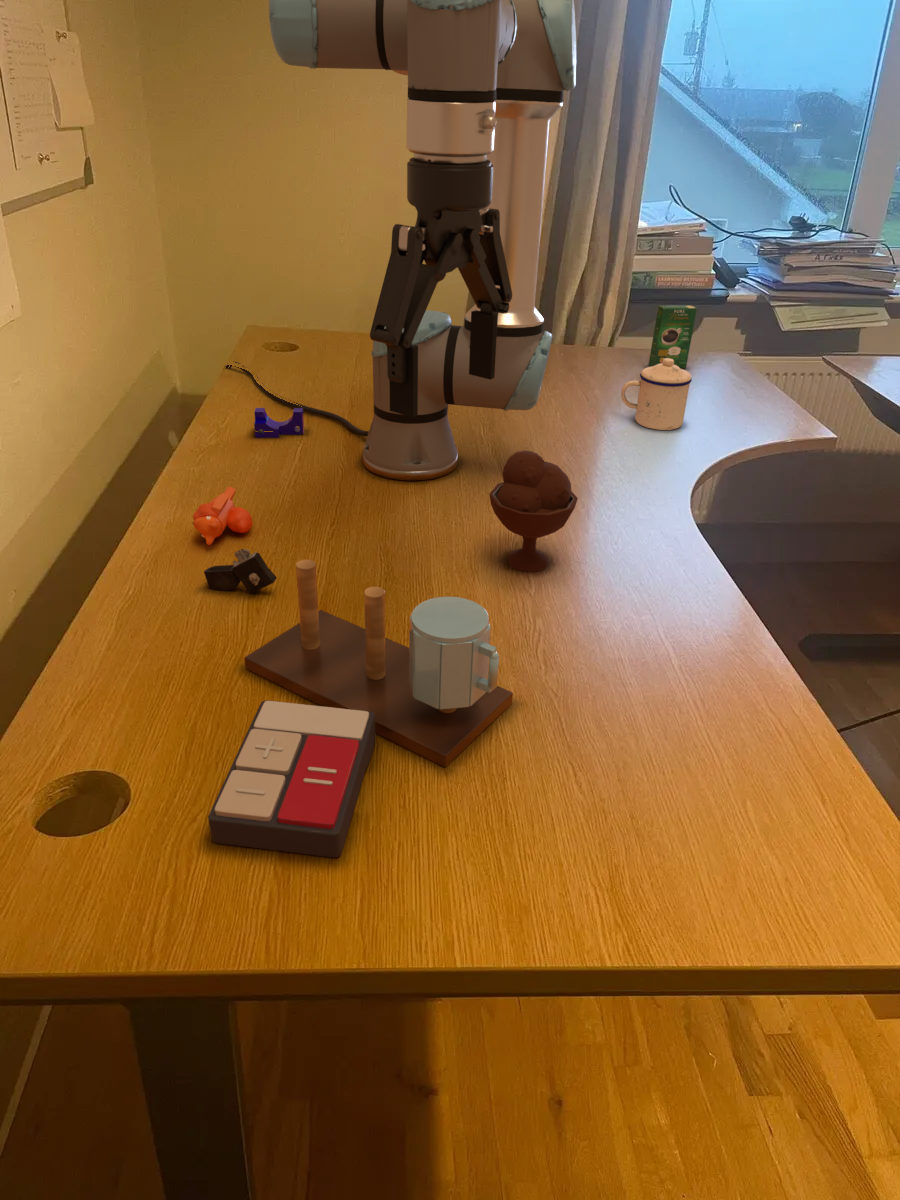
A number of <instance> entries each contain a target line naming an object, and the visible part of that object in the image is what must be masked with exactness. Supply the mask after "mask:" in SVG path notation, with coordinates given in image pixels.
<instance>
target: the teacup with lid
mask: <svg viewBox="0 0 900 1200" xmlns="http://www.w3.org/2000/svg"><path fill="white" fill-rule="evenodd" d="M639 377H640V380H630V381H627V382H626V383H624V384H623V386H622V388H621V391H620V395H621V400H622V402H623V403H624V405H625V406H627V407H628V408H630V409H635V416H634V417H635V422H636V423H637V424H638V425H640V426H641V427H645V428H647V429H651V430H656V431H657V430H658V431H671V430H676V429H679V428H680V427H682V426H683V424H684V419H685V413H686V407H687V401H688V396H689V391H690V390H689V389H690V386H691V385H690V384H691V382H692V380H693V379H692V375H691V373H690V372H689V371H687V370H685V369H684V368H679V367H678V366H676V365H674V360H673V359H670V358H665V359H663V361H662V363H660V364H657V365H655V366H651V367H649V366H647V367H645V368H643V369H642V370H641V371H640V374H639ZM632 386H637V387H639V390H638V394H637V395H638V396H637V403H632V402H630V401H629V400H628V399H627V397H626V391H627V389H628V388H630V387H632Z"/></svg>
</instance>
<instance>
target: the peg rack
mask: <svg viewBox="0 0 900 1200" xmlns="http://www.w3.org/2000/svg"><path fill="white" fill-rule="evenodd" d="M295 569H296V570H295V571H296V586H297V598H298V599H297V600H298V612H299V613H298V615H299V623H297V624H295V625H294V626H292V627H291V628H289V629H287V630H286V631H284V632H282V633H281V634H279V635H278V636H276V637H274V638H273V639H272V640H269V641H268V642H267V643H265V644H263V645H262V646H260V647H259V648H257V649H256V650H254V651H252V652H251V653H250V654H248V655H246V656H245V657H244V667H245V669H246V670H247V671H250V672H252V673H253V674H256V675H258V676H260V677H262V678H264V679H266V680H268V681H270V682H272V683H274V684H275V685H277V686H280V687H282V688H283V689H285V690H287V691H290V692H291V693H293V694H295V695H298V696H300V697H301V698H304V699H306V700H307V701H309V702H312V703H314V704H316V705H317V706H324V707H334V708H343V709H352V710H362V711H371V712H373V713H374V714H375V735H378V736H380V737H382V738H383V739H386V740H388V741H390V742H391V743H394V744H396V745H398V746H400V747H402V748H404V749H406V750H408V751H410V752H412V753H414V754H416V755H418V756H421V757H422V758H424V759H427V760H429V761H431V762H432V763H435V764H437V765H438V766H440V767H442V768H447V767H448V766H449V765H450V764H451V763H452V762H453V761H454V760H455V759H456V758H457V757H459V755H460V754H462V752H463V751H464V750H465V749H466V748H468V747H469V746H470V745H471V744H472V743H473V742H474V741H475V740H476V739H477V738H478V737H479V736H480V735H481V734H483V732H484V731H485V730H486V729H487V728H489V726H491V725H492V723H494V722H495V721H496V720H497V719H498V718H499V717H500V716H501V715H502V714H503V713H504V712H505V711H506V710H507V709H508V708H509V707H511V706H512V705H513V698H514V697H513V696H514V692H513V691H511V690H508V689H506V688H504V687H501V686H499V685H497V687H496V688H495V689H494V690H493V691H491V692H490V693H488V692H486V693H485V694H484V695H483V696H481V697H480V698H479V699H478V700H477V701H476V702H475V703H474V704H473V705H471V706H469V707H463V708H452V709H441V710H440V708H439V709H436V708H434V707H432V706H430V705H428V704H425V703H423V702H421V701H419V700H417V699H415V698H414V697H413V695H412V690H411V686H410V682H409V647H408V646H406V645H403V644H401V643H399V642H397V641H394V640H392V639H390V638H388V637H386V591H385V589H383V588H382V587H380V586H370V587H367V588H365V590H364V591H363V593H364V594H363V595H364V596H363V597H364V598H363V599H364V600H363V601H364V627H363V626H362V627H361V626H359V625H357V624H354V623H353V622H351V621H347V620H345V619H343V618H341V617H339V616H336V615H334V614H332V613H329V612H327V611H324V610H322V609H319V600H318V599H319V598H318V596H319V595H318V579H317V563H316V561H315V560H311V559H301V560H299V561H297V562H296V563H295Z"/></svg>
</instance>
